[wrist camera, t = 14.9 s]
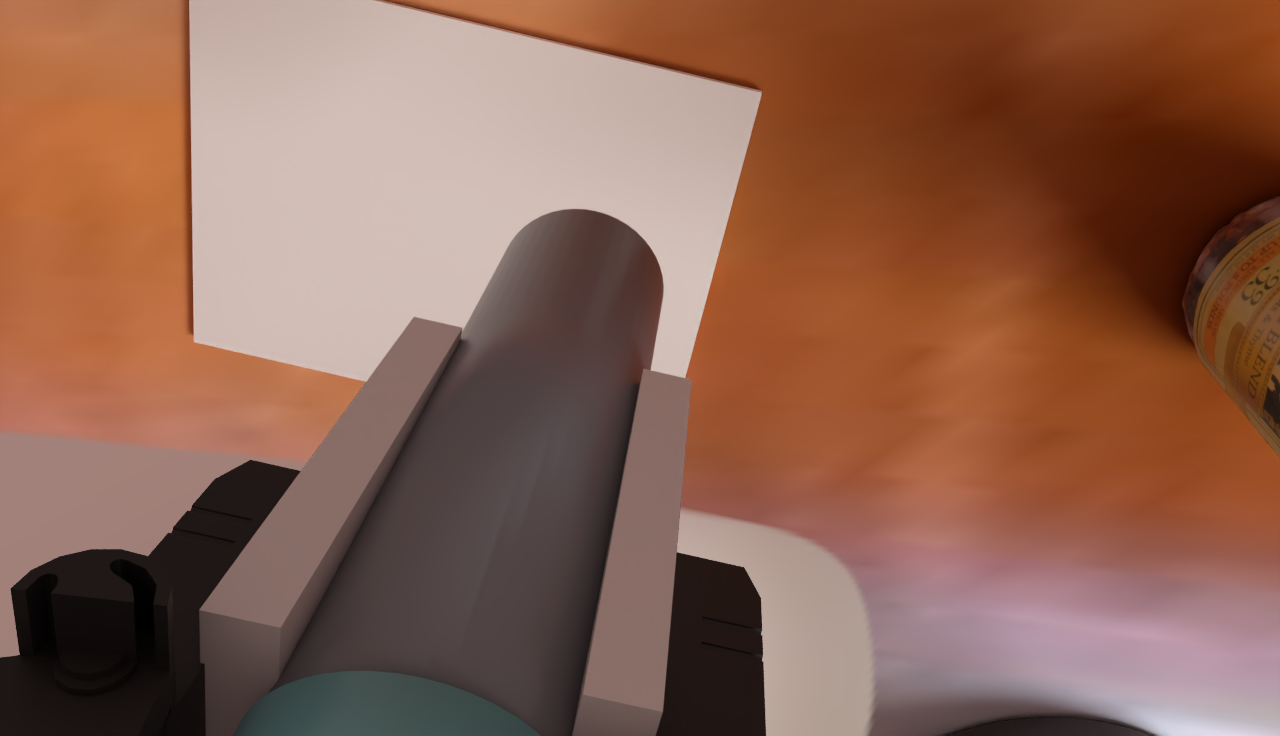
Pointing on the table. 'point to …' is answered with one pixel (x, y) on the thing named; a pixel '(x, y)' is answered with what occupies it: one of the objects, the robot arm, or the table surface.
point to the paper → (429, 171)
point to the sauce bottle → (1241, 314)
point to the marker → (491, 510)
